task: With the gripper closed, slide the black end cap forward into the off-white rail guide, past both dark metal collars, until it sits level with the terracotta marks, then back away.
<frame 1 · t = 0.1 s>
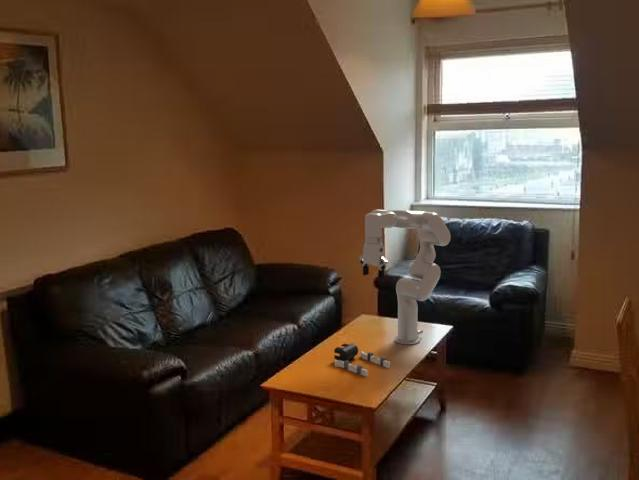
hand: (373, 276, 309), 37 cm above the table, tool pointing down, fingers open, 9 cm apart
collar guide: (365, 366, 298), on the table
end cap: (346, 360, 307), on the table
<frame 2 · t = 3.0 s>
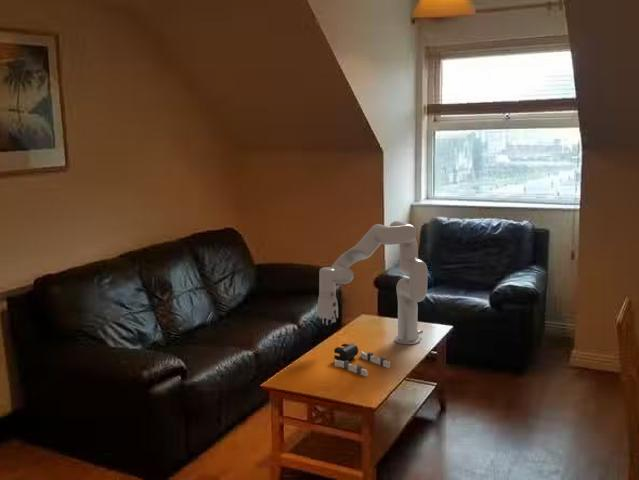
hand: (327, 332, 313), 10 cm above the table, tool pointing down, fingers closed
nothing on the table moved.
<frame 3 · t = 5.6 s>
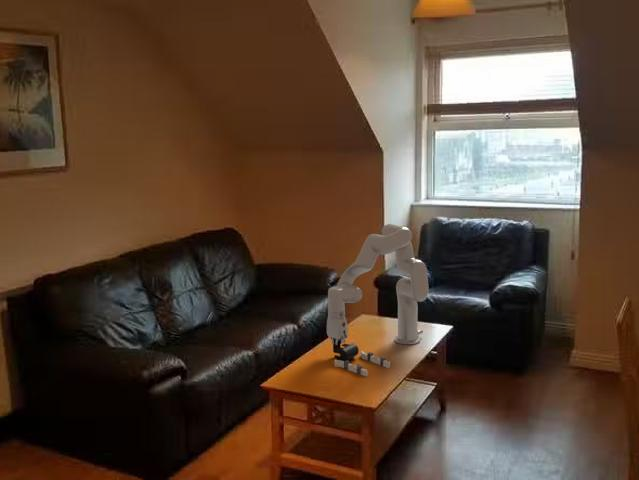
hand: (336, 352, 311), 2 cm above the table, tool pointing down, fingers closed
end cap: (346, 360, 306), on the table, touching gripper
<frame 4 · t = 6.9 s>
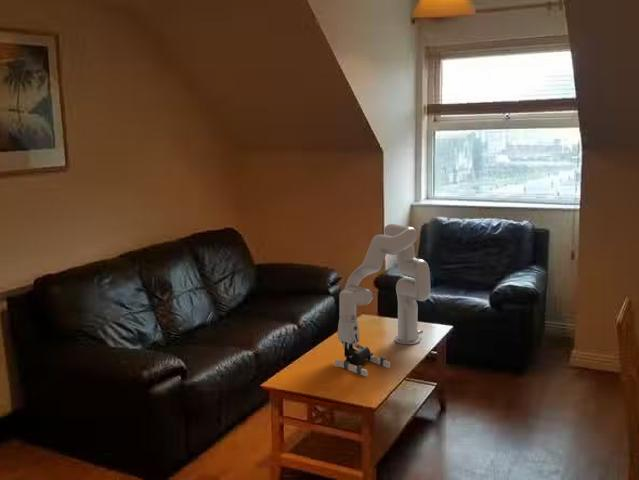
hand: (348, 356, 305), 2 cm above the table, tool pointing down, fingers closed
end cap: (355, 362, 302), point 1 cm above the table
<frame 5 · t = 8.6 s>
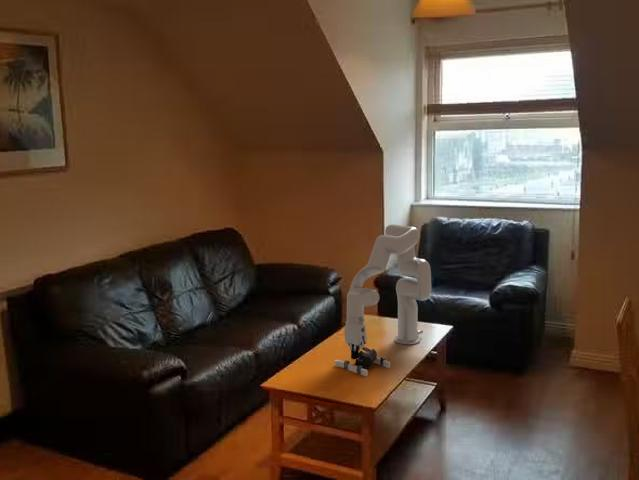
hand: (354, 358, 300), 3 cm above the table, tool pointing down, fingers closed
end cap: (363, 364, 298), point 1 cm above the table, touching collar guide, gripper
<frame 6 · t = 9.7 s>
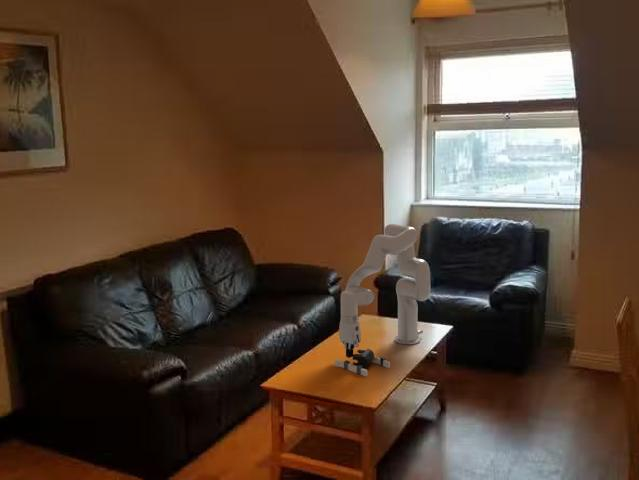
hand: (349, 356, 305), 2 cm above the table, tool pointing down, fingers closed
end cap: (363, 366, 299), on the table
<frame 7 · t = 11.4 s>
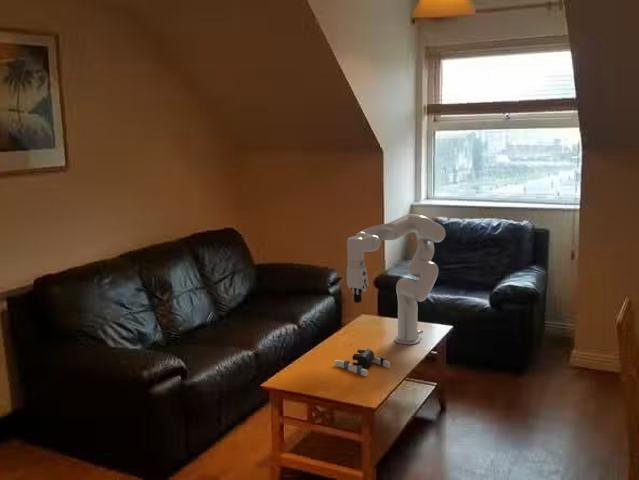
hand: (357, 301, 311), 25 cm above the table, tool pointing down, fingers closed
nothing on the table moved.
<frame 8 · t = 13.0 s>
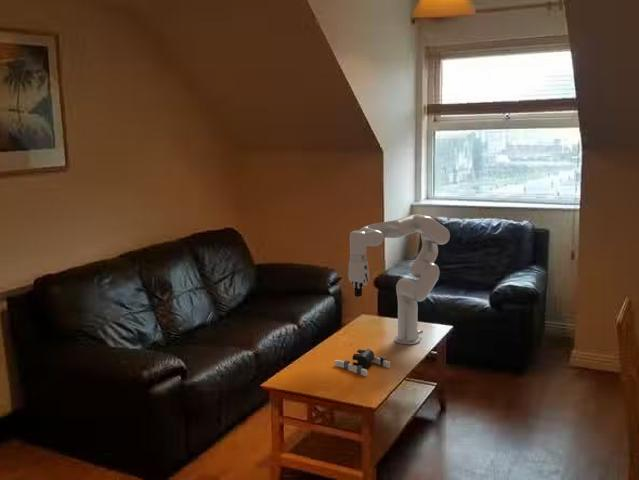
hand: (358, 296, 312), 27 cm above the table, tool pointing down, fingers closed
nothing on the table moved.
at the end: end cap inside the target area on the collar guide (1.1 cm from its centre), point 0.0 cm above the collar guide's base; end cap moved 10.9 cm from its start; the gripper is holding nothing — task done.
